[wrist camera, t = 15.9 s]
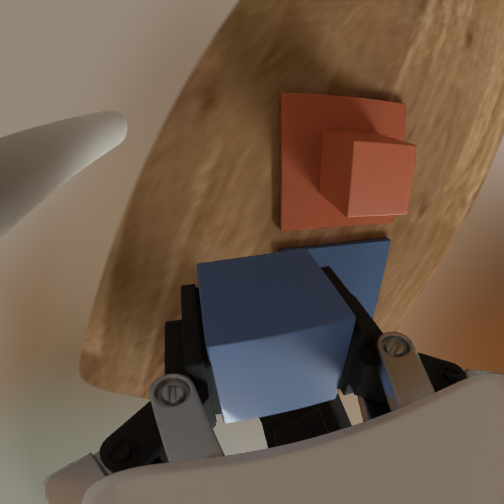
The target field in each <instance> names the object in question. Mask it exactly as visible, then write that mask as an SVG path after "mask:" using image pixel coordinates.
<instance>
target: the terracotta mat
mask: <svg viewBox="0 0 504 504" xmlns="http://www.w3.org/2000/svg"><path fill="white" fill-rule="evenodd" d="M405 117H406V104H403V103H397V102H390V101H384V100H376V99H369V98H360V97H351V96H340V95H327V94H311V93H280V230H281V231H292V230H304V229H315V228H327V227H339V226H351V225H363V224H376V223H389V222H394V217H395V215H382V216H364V217H346V216H345V215H343V214H342V213H341V212H340V211H339V210H338V209H337V208H336V207H334V206H333V205H332V204H331V203H330V202H329V201H328V200H326V199H325V198H324V197H323V196H322V195H321V194H319V188H320V171H321V150H322V130H335V131H353V132H367V133H379V134H382V135H385V136H389V137H392V138H395V139H398V140H401V141H404V133H405Z"/></svg>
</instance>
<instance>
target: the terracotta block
mask: <svg viewBox="0 0 504 504" xmlns="http://www.w3.org/2000/svg"><path fill="white" fill-rule="evenodd" d="M415 155H416V145H413V144H410V143H407V142H404V141H401V140H398V139H395V138H392V137H389V136H385V135H382V134H379V133H367V132H353V131H335V130H322V150H321V171H320V188H319V194H321V195H322V196H323V197H324V198H325V199H326V200H328V201H329V202H330V203H331V204H332V205H333V206H334V207H336V208H337V209H338V210H339V211H340V212H341V213H342V214H343V215H345V216H346V217H364V216H382V215H402V214H407V210H408V205H409V199H410V192H411V186H412V179H413V172H414V164H415Z"/></svg>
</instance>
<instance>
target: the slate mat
mask: <svg viewBox="0 0 504 504" xmlns="http://www.w3.org/2000/svg"><path fill="white" fill-rule="evenodd" d="M389 245H390V239H389V238H383V239H373V240H364V241H354V242H345V243H335V244H325V245H316V246H306V247H297V248H287V249H279V252H284V251H291V250H298V249H305V248H306V249H307V250H308V251H309V253H310V254H311V255H312V257H313V258H314V259H315V261H316V262H317V263H318V265H319V266H320V267H325V266H330V267H331V268H332V270H333V271H334V272H335V273H336V275H337V276H338V277H339V279H340V280H341V281H342V283H343V284H344V285H345V286H346V288H347V289H348V290H349V292H350V293H351V294H353V295H354V296H355V297H356V298H357V299H358V301H359V302H360V303H361V305H362V306H363V307H364V309H365V310H366V311H367V313H368V314H369V315H370V317H371V318H373V314H374V310H375V306H376V303H377V299H378V295H379V291H380V286H381V282H382V278H383V273H384V269H385V264H386V260H387V255H388V250H389Z"/></svg>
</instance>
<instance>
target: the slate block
mask: <svg viewBox="0 0 504 504" xmlns="http://www.w3.org/2000/svg"><path fill="white" fill-rule="evenodd" d="M197 274H198V284H199V294H200V303H201V311H202V320H203V328H204V336H205V343H206V349H207V354H208V359H209V361H210V362H211V365H212V370H213V376H214V381H215V386H216V391H217V396H218V401H219V406H220V410H221V414H222V418H223V422H224V423H231V422H237V421H243V420H248V419H254V418H259V417H264V416H269V415H273V414H278V413H282V412H287V411H291V410H295V409H299V408H303V407H307V406H311V405H315V404H318V403H322V402H326V401H329V400H333V399H335V398H336V395H337V392H338V386H339V383H340V380H341V376H342V373H343V369H344V366H345V362H346V358H347V354H348V350H349V346H350V342H351V338H352V333H353V329H354V325H355V320H356V316H355V315H354V313H353V312H352V311H351V309H350V308H349V306H348V305H347V304H346V302H345V301H344V299H343V298H342V297H341V295H340V294H339V292H338V291H337V290H336V288H335V287H334V285H333V284H332V283H331V281H330V280H329V278H328V277H327V276H326V274H325V273H324V272H323V270H322V269H321V268H320V266H319V265H318V263H317V262H316V261H315V259H314V258H313V257H312V255H311V254H310V253H309V251H308V250H307V249H306V248H305V249H298V250H291V251H284V252H277V253H270V254H263V255H256V256H249V257H242V258H234V259H227V260H220V261H213V262H206V263H199V264H197Z"/></svg>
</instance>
